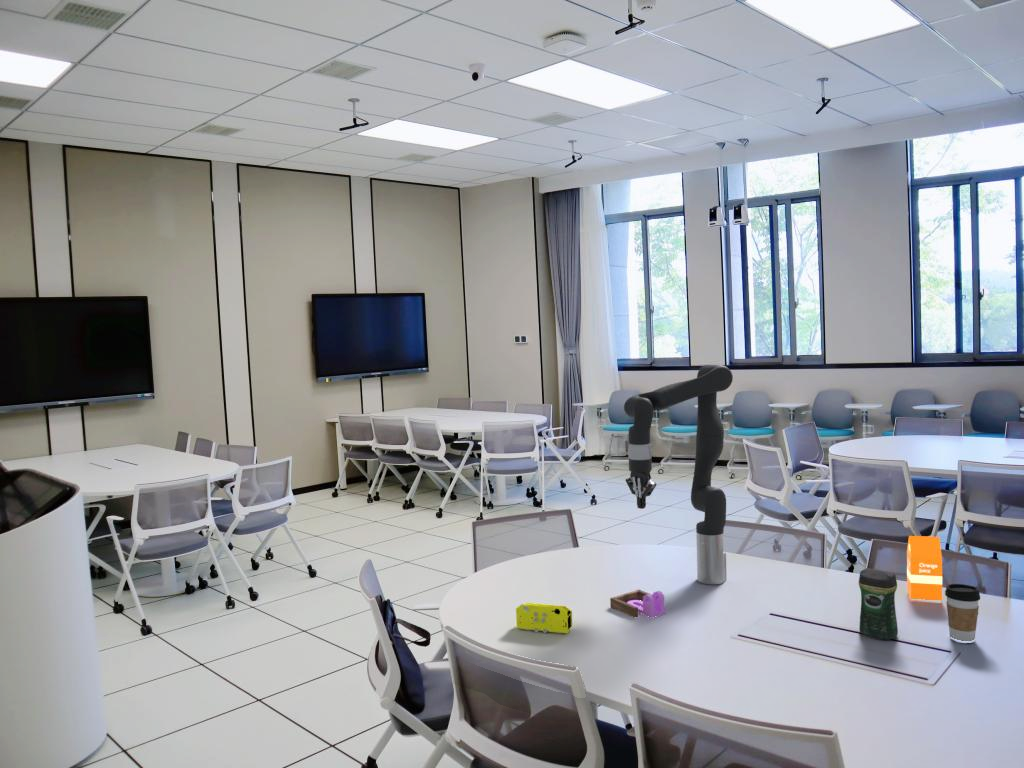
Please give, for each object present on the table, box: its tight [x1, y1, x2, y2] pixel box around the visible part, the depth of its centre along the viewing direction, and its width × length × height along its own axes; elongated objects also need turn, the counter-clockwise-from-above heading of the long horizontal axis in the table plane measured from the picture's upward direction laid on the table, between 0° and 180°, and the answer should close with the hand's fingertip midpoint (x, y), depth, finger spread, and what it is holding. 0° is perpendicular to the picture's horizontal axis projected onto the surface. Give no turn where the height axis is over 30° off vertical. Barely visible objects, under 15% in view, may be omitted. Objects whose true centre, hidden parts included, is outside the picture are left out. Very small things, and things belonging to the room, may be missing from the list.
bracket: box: [627, 590, 666, 619], centre depth 244 cm, size 13×6×7 cm, turn 33°
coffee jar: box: [858, 567, 899, 641], centre depth 218 cm, size 10×8×19 cm
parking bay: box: [609, 589, 653, 618], centre depth 246 cm, size 12×12×3 cm
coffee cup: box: [944, 583, 981, 641], centre depth 212 cm, size 8×8×15 cm
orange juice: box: [906, 535, 943, 601], centre depth 244 cm, size 8×9×20 cm
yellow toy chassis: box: [515, 602, 573, 635], centre depth 232 cm, size 16×6×8 cm, turn 70°
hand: (641, 508), depth 257 cm, fingers closed
